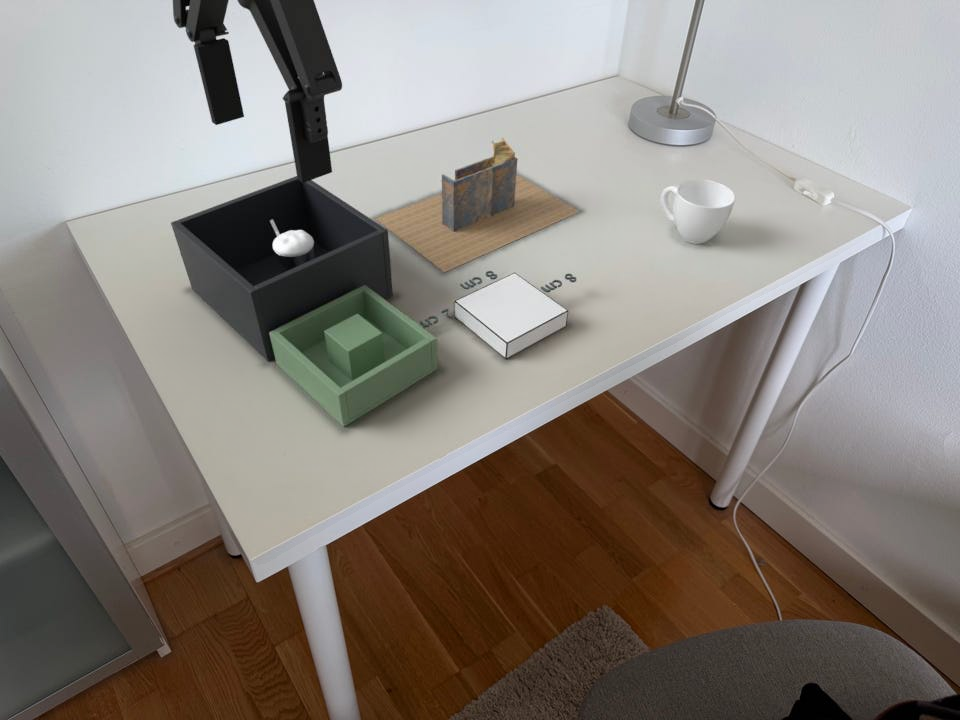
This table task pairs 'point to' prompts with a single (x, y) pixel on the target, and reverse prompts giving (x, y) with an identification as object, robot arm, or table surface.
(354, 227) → the dark bin
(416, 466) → the table surface
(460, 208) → the architectural model on board
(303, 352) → the green bin
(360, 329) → the green block
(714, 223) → the cup
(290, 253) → the milkshake
